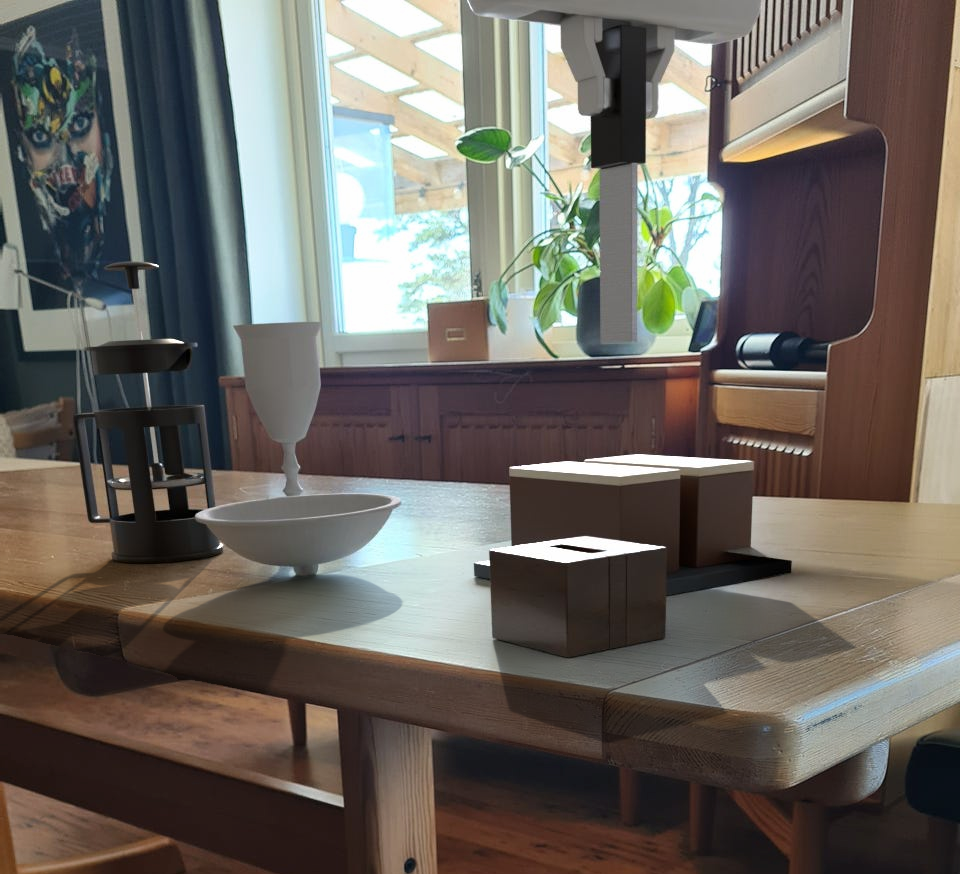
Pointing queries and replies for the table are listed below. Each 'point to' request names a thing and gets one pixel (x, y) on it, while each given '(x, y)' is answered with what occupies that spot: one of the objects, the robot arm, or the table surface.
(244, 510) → the dish
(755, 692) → the table surface
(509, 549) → the knife block
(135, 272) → the french press
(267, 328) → the chalice
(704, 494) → the brown box set
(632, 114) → the knife
